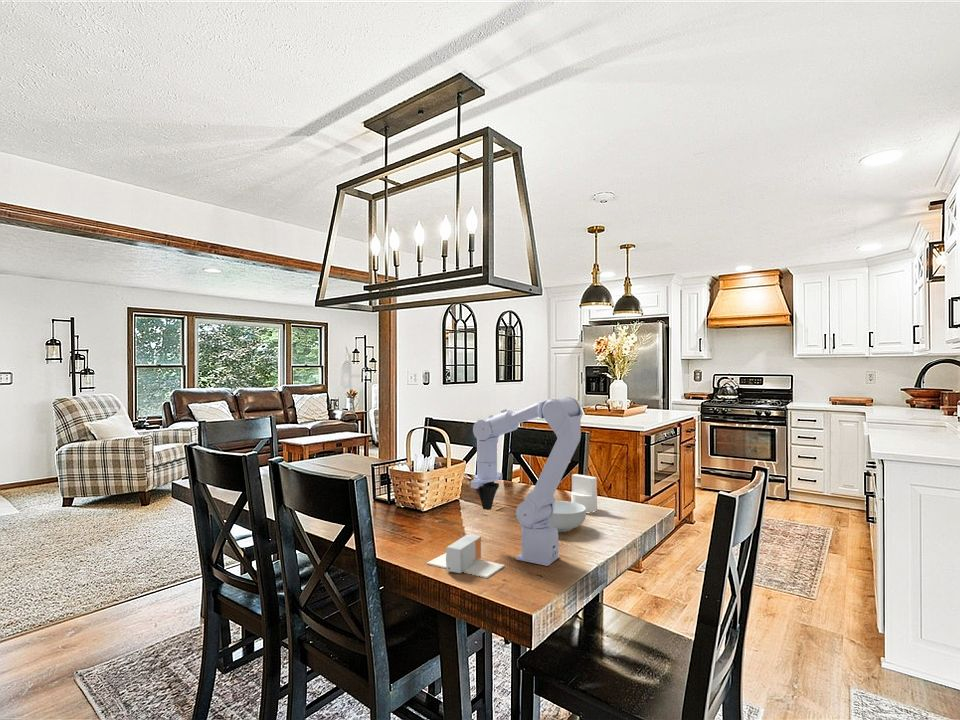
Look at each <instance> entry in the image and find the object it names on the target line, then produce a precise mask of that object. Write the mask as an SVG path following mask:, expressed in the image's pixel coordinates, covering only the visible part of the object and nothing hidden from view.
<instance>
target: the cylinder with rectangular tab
mask: <svg viewBox="0 0 960 720" xmlns="http://www.w3.org/2000/svg"><path fill="white" fill-rule="evenodd" d="M597 481H598V480H597V477H596V476H591V475H590V476H589V475H586V474H585V475H584V474H578V473H574V474H572V475H571V493H570V494H571V495H570V496H571V500H570V502H574V503H578V504H581V505H583V506H585V507H586V512H593V511H595V510H597V511H598V494H597V493H598V492H597V491H598V490H597V488H598V487H597Z"/></svg>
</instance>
